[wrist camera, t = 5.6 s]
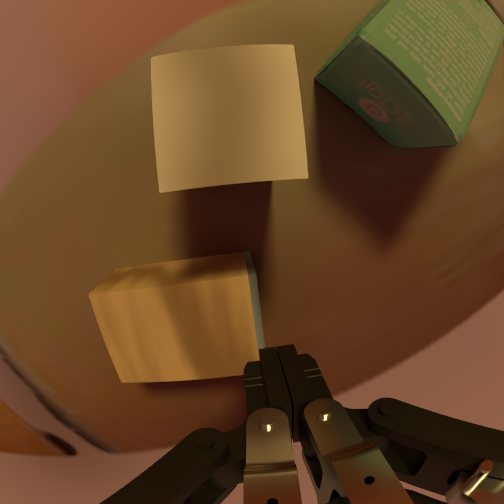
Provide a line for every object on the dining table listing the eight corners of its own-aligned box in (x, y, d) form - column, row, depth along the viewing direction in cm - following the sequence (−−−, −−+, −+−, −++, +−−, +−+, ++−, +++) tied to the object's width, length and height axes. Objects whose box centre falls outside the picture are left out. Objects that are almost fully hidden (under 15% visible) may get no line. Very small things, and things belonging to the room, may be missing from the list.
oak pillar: (256, 274, 14) (88, 294, 14) (267, 371, 16) (121, 382, 15) (249, 250, 18) (116, 268, 18) (259, 332, 20) (138, 344, 20)
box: (307, 82, 16) (355, 35, 9) (389, -11, 14) (436, -50, 6) (389, 153, 17) (465, 151, 10) (451, 49, 15) (509, 28, 8)
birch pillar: (265, 97, 16) (293, 44, 8) (272, 176, 17) (308, 178, 9) (182, 105, 16) (151, 57, 8) (189, 184, 17) (159, 193, 9)
